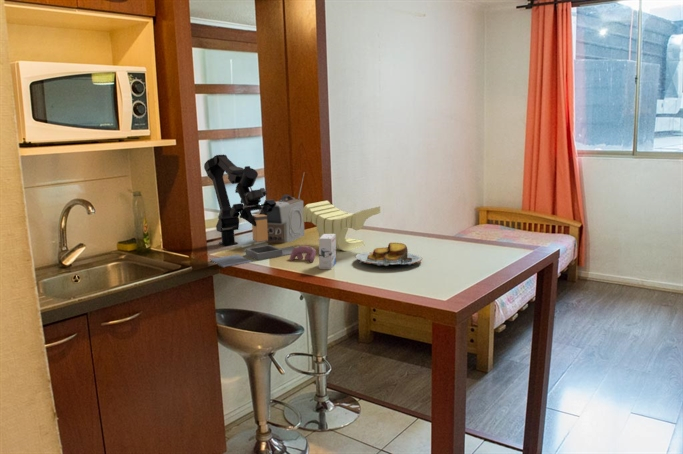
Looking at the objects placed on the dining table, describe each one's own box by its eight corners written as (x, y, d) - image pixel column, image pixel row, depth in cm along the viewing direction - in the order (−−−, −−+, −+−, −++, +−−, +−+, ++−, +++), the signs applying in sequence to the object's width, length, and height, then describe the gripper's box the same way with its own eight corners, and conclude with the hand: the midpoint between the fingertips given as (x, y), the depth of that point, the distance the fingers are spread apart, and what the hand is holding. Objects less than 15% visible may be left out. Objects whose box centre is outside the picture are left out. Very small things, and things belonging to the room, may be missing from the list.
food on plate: (343, 261, 224) (343, 244, 223) (394, 252, 237) (394, 236, 236) (381, 275, 203) (381, 257, 202) (435, 264, 216) (435, 247, 215)
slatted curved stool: (303, 245, 251) (302, 205, 247) (328, 238, 263) (327, 200, 259) (356, 255, 231) (355, 212, 228) (380, 247, 243) (380, 206, 240)
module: (252, 239, 231) (251, 215, 229) (263, 238, 234) (262, 214, 232) (257, 241, 228) (256, 216, 226) (268, 240, 230) (267, 215, 228)
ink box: (324, 263, 221) (323, 233, 218) (337, 263, 220) (336, 233, 217) (318, 269, 213) (317, 238, 210) (332, 269, 212) (331, 238, 209)
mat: (209, 260, 228) (209, 259, 228) (237, 255, 235) (237, 254, 235) (224, 267, 217) (223, 266, 217) (252, 262, 224) (252, 261, 224)
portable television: (260, 244, 255) (257, 177, 249) (285, 233, 276) (283, 171, 270) (284, 246, 250) (281, 177, 244) (308, 235, 271) (306, 171, 265)
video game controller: (315, 264, 225) (318, 247, 226) (311, 262, 220) (314, 244, 222) (292, 263, 228) (295, 246, 229) (288, 260, 224) (290, 243, 225)
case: (245, 256, 234) (245, 248, 234) (292, 248, 246) (291, 241, 246) (258, 261, 226) (257, 253, 225) (305, 252, 238) (305, 245, 237)
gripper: (231, 184, 224) (246, 215, 217) (272, 179, 235) (288, 209, 228) (223, 201, 231) (237, 232, 225) (264, 196, 242) (278, 226, 236)
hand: (261, 224), depth 228 cm, fingers closed on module, 5 cm apart
